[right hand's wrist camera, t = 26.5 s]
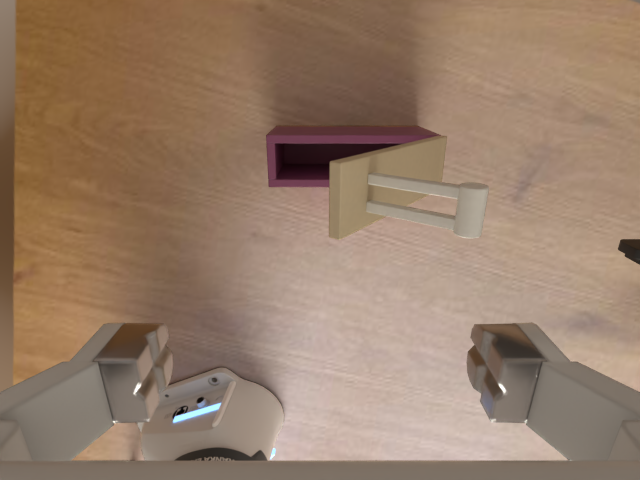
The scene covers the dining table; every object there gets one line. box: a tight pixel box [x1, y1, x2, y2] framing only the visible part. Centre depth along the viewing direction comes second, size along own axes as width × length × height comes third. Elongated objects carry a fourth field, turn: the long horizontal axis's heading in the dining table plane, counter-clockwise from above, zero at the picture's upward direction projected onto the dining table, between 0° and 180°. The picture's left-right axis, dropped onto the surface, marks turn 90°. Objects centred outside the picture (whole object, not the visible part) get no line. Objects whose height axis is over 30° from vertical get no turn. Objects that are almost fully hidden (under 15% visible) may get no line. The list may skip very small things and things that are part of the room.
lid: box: [329, 136, 489, 240], centre depth 28 cm, size 17×5×8 cm
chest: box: [266, 126, 441, 187], centre depth 41 cm, size 16×5×9 cm, turn 90°
